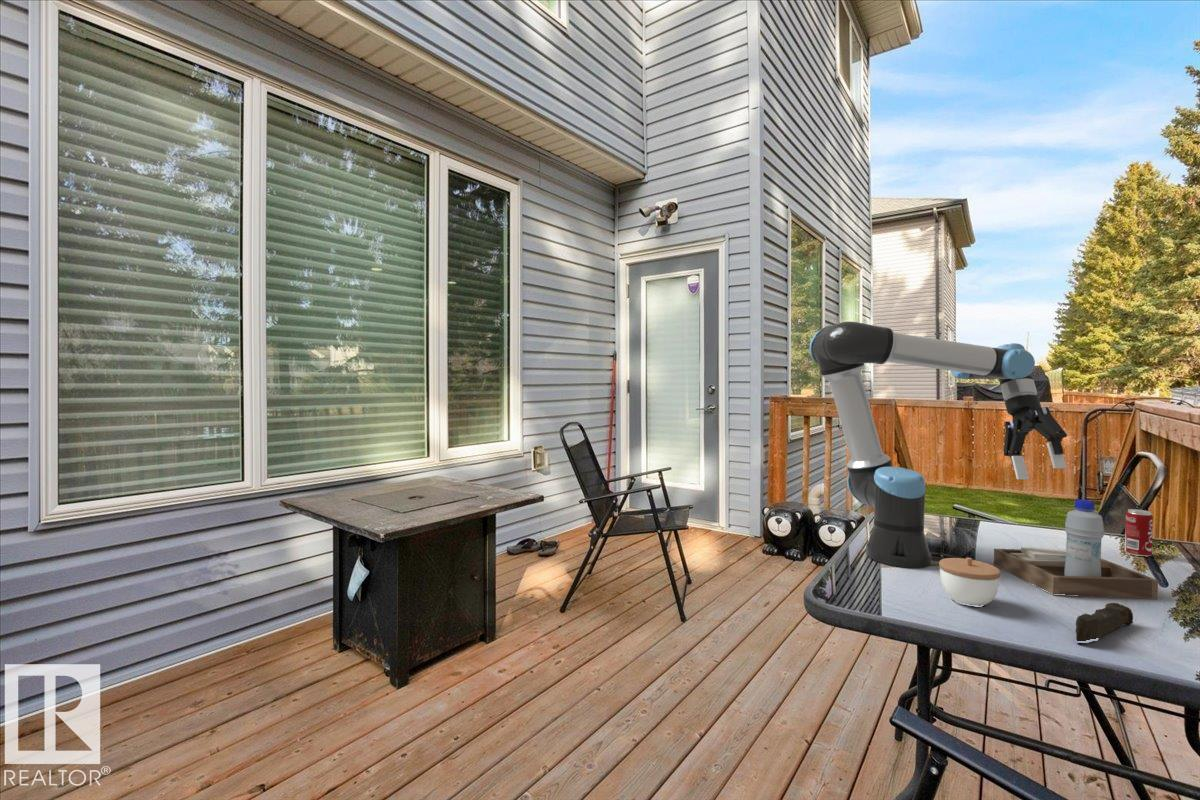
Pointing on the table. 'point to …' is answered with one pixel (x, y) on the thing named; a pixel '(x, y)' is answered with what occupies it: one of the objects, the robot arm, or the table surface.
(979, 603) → the lidded jar
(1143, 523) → the soda can
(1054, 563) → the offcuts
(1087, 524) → the bottle
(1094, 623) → the dark brown lumpy bar
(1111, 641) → the table surface
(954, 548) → the table surface
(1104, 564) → the tray
